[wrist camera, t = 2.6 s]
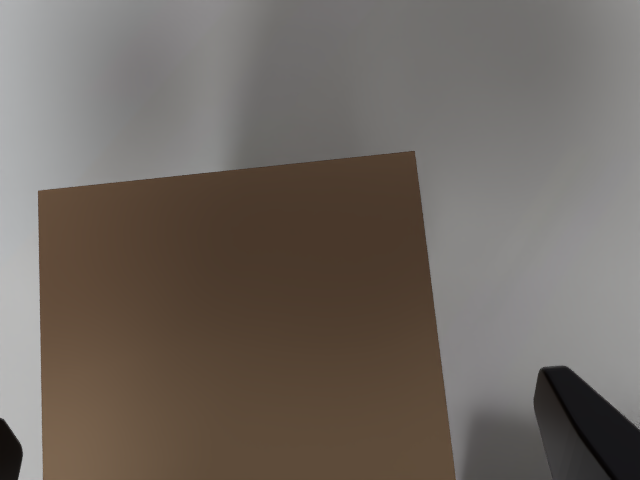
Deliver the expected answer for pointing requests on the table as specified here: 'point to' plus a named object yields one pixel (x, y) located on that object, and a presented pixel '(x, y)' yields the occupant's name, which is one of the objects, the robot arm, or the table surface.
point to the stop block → (242, 327)
